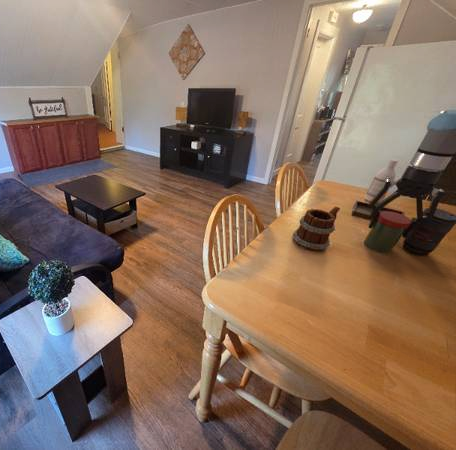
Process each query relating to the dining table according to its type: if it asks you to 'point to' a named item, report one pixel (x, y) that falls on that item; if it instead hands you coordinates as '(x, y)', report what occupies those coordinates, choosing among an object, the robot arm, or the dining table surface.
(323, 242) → the mug
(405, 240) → the camera lens
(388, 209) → the tray
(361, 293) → the dining table surface
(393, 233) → the jar
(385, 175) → the bath foam
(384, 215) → the lid
